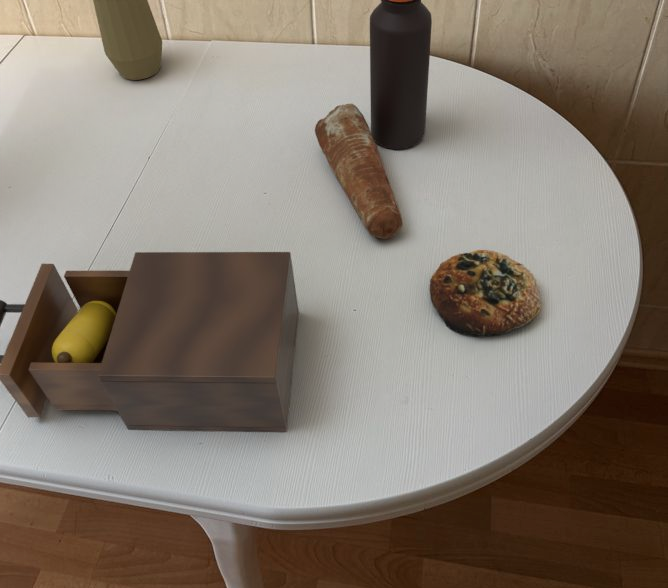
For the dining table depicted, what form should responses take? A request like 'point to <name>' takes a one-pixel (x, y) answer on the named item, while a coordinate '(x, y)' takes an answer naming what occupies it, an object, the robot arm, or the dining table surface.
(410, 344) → the dining table surface
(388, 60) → the vinegar
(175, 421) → the cabinet
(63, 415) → the dining table surface
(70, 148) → the dining table surface
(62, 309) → the drawer
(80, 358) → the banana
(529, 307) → the bread roll
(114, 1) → the squeeze bottle
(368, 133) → the bread
